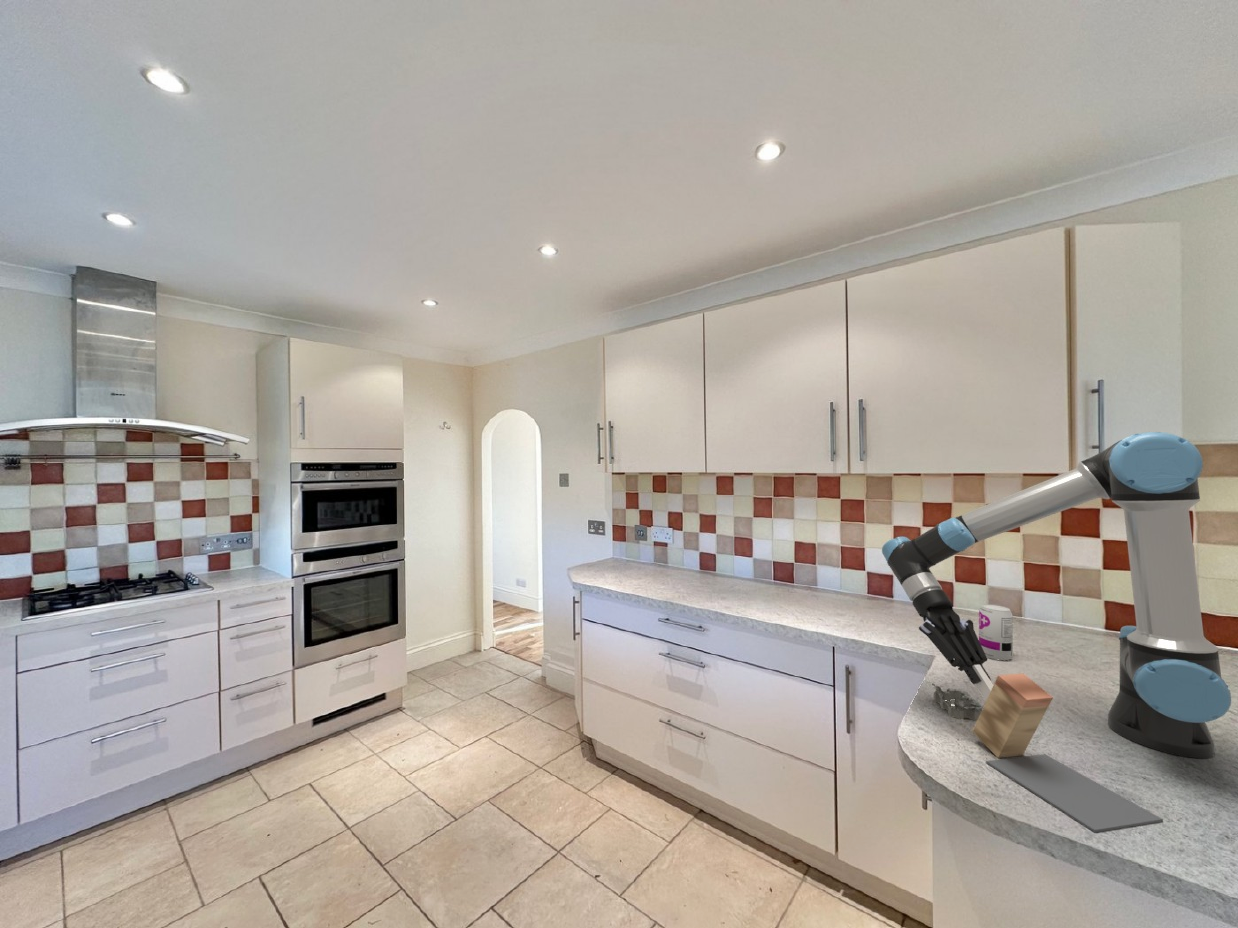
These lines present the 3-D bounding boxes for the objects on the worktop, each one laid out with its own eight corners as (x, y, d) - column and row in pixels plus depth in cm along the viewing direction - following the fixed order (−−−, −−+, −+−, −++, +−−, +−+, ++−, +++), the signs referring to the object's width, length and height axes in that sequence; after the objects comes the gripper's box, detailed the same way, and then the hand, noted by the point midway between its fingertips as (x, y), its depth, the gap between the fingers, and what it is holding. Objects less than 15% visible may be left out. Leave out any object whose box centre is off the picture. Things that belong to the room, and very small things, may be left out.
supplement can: (984, 659, 145) (984, 609, 145) (974, 649, 153) (975, 602, 153) (1017, 663, 142) (1017, 612, 143) (1005, 653, 150) (1006, 605, 150)
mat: (986, 762, 93) (986, 760, 93) (1044, 755, 95) (1044, 753, 95) (1094, 832, 75) (1094, 829, 75) (1162, 821, 78) (1162, 818, 78)
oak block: (972, 731, 100) (998, 675, 95) (996, 728, 101) (1023, 673, 96) (997, 757, 95) (1027, 699, 89) (1022, 754, 96) (1053, 697, 91)
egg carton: (929, 698, 120) (929, 681, 120) (963, 701, 119) (963, 684, 119) (950, 719, 110) (950, 701, 110) (987, 723, 108) (987, 705, 108)
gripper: (941, 603, 119) (1006, 703, 102) (895, 605, 117) (954, 707, 100) (960, 586, 114) (1032, 689, 97) (912, 588, 111) (978, 694, 95)
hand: (992, 698), depth 99 cm, fingers closed
